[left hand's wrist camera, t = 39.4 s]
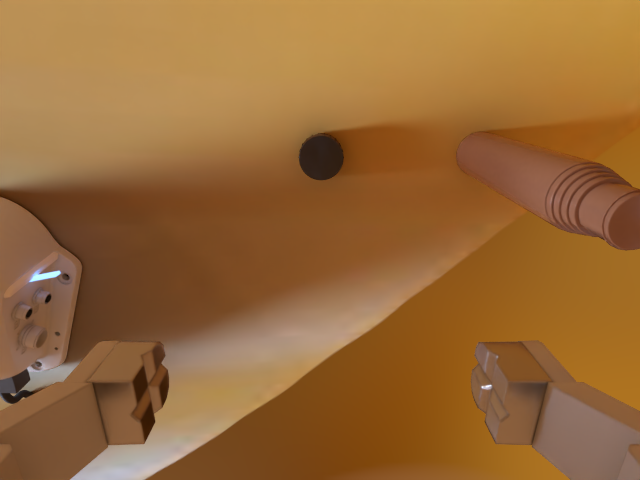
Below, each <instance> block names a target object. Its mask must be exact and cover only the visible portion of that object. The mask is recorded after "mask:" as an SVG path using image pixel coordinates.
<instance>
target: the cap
mask: <svg viewBox="0 0 640 480" xmlns="http://www.w3.org/2000/svg"><path fill="white" fill-rule="evenodd" d="M343 158H344V157H343V150H342V149H341V147H340V143H338V142H337V140H336V139H335V138H333V137H332V136H331V135H327V134H325V133H324V134H319V133H318V134H315V135H312V136H311V137H309V138H308V139H306V141H305V142H304V143H303V144H302V147H301V149H300V154H299V162H300V166H301V168H302V170H303V171H304V172H305V174H307V175H308V176H309V177H311V178H313V179H316V180H326V179H329V178H332V177H333V176H335V175H336V174H337V173H338V172H339V170H340V169H341V166H342V164H343Z"/></svg>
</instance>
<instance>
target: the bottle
mask: <svg viewBox="0 0 640 480" xmlns="http://www.w3.org/2000/svg"><path fill="white" fill-rule="evenodd" d="M456 159H457V163H458V166H459V167H460V169H461V170H462V171H463V172H465V173H466V174H468V175H470V176H471V177H473V178H475V179H476V180H478V181H480V182H481V183H483V184H485V185H486V186H488V187H490V188H491V189H493V190H495V191H496V192H498V193H500V194H501V195H503V196H505V197H507V198H508V199H510V200H512V201H513V202H515V203H517V204H518V205H520V206H522V207H523V208H525V209H527V210H528V211H530V212H532V213H533V214H535V215H537V216H538V217H540V218H542V219H543V220H545V221H547V222H548V223H550V224H552V225H554V226H555V227H557V228H559V229H561V230H564V231H567V232H570V233H577V234H582V235H588V236H592V237H600V238H601V239H603V240H605V241H606V242H607V243H608V244H609V245H611V246H613V247H615V248H617V249H621V250H635V249H640V189H637V188H634V187H632V186H631V185H630V184H629V183H628V182H626V181H625V180H624V179H623V178H622V177H620V176H619V175H618V174H617V173H615V172H614V171H613V170H611V169H610V168H608V167H606V166H604V165H602V164H599V163H596V162H592V161H589V160H585V159H581V158H578V157H574V156H571V155H567V154H563V153H560V152H556V151H553V150H549V149H545V148H542V147H538V146H534V145H531V144H527V143H524V142H520V141H516V140H513V139H509V138H505V137H502V136H498V135H495V134H491V133H487V132H475V133H472V134H470V135H468V136H467V137H466V138H465V139H464V140H463V141H462V142H461V143H460V145H459V147H458V149H457V154H456Z"/></svg>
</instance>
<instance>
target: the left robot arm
mask: <svg viewBox="0 0 640 480" xmlns="http://www.w3.org/2000/svg"><path fill="white" fill-rule="evenodd" d="M81 273H82V264H81V262H80V261H79V260H78V259H77V258H76V257H75V256H74V255H73V254H71V253H70V252H69V251H67V250H66V249H64V248H63V247H61V246H60V245H59V244H58V243H57V242H56V241H55V239H54V238H53V237H52V235H51V234H50V233H49V231H48V230H47V229H46V227H45V226H44V225H43V224H42V223H41V222H40V221H39V220H38V219H37V218H36V217H35V216H34V215H32V214H31V213H30V212H29V211H27V210H26V209H24V208H23V207H21V206H20V205H18V204H16V203H14V202H12V201H10V200H8V199H5V198H2V197H0V396H1V397H2V399H3V400H4V401H5V402H7V403H10V404H13V405H11V406H9V407H7V408H5V409H3V410H1V411H0V480H70V479H71V478H72V477H73V476H74V475H76V474H77V473H78V472H79V471H80V470H81V469H83V468H84V467H85V466H86V465H87V464H88V463H90V462H91V461H92V460H93V459H94V458H96V457H97V456H98V455H99V454H100V453H101V452H103V451H104V450H105V449H106V448H107V447H108V445H125V444H144V443H145V441H146V439H147V437H148V435H149V433H150V431H151V429H152V427H153V425H154V423H155V417H154V413H156V412H157V411H158V410H160V409H161V408H162V407H163V405H164V403H165V401H166V398H167V393H168V389H169V375H168V370H167V369H166V368H165V367H164V366H163V365H162V364H161V363H162V361H163V359H164V357H165V351H164V346H163V344H162V343H161V342H150V341H101V342H98V343H97V344H96V345H95V346H94V348H93V349H92V350H91V351H90V352H89V353H88V354H87V356H86V357H85V358H84V359H83V360H82V361H81V362H80V364H79V365H78V366H77V367H76V368H75V369H74V370H73V372H72V373H71V374H70V375H69V376H68V377H67V378H66V379H65V381H64V382H56V383H54V384H52V385H51V386H49V387H47V388H45V389H43V390H41V391H39V392H37V393H35V394H33V393H31V392H29V391H27V390H22V391H20V390H21V389H22V388H23V387H24V386H25V385H26V384H27V383H28V382H29V381H30V376H29V373H28V372H36V371H44V370H49V369H52V368H55V367H57V366H59V365H61V364H62V363H63V362H64V361H65V359H66V356H67V351H68V345H69V340H70V334H71V329H72V323H73V318H74V312H75V306H76V301H77V295H78V290H79V284H80V279H81ZM66 274H68V275H69V277H70V278H69V277H67V276H66ZM475 357H476V359H477V361H478V362H479V364H478V365H477V366H476V367H475V368H474V369H473V370H472V376H471V388H472V394H473V398H474V401H475V403H476V405H477V407H478V408H479V409H480V410H482V411H483V412H484V413H486V417H485V423H486V425H487V427H488V429H489V431H490V433H491V435H492V437H493V439H494V441H495V443H496V444H514V445H532V447H533V448H534V449H535V450H536V451H538V452H539V453H540V454H541V455H542V456H543V457H545V458H546V459H547V460H548V461H549V462H551V463H552V464H553V465H554V466H555V467H556V468H558V469H559V470H560V471H561V472H562V473H563V474H565V475H566V476H567V477H568V478H569V479H570V480H640V411H638V410H636V409H634V408H633V407H631V406H629V405H627V404H625V403H623V402H621V401H619V400H617V399H615V398H613V397H611V396H609V395H607V394H605V393H603V392H601V391H599V390H597V389H595V388H593V387H591V386H589V385H588V384H586V383H583V382H576V381H575V380H574V378H573V377H572V376H571V375H570V374H569V373H568V372H567V370H566V369H565V368H564V367H563V366H562V365H561V364H560V362H559V361H558V360H557V359H556V358H555V357H554V356H553V354H552V353H551V352H550V351H549V350H548V349H547V348H546V346H545V345H544V344H543V343H542V342H539V341H518V342H479V343H478V345H477V347H476V351H475ZM40 362H41V363H40ZM19 391H20V392H19ZM10 393H17V394H16V395H15V396H12V395H11V394H10ZM23 397H25V399H23V400H21V398H23ZM20 400H21V401H20ZM18 401H19V402H18ZM14 403H15V404H14Z"/></svg>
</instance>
